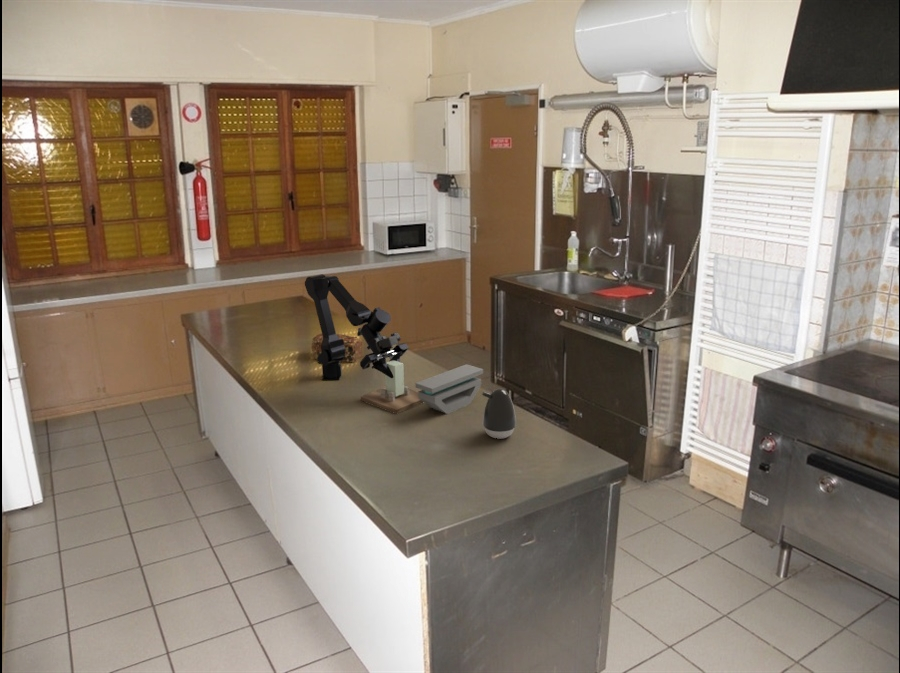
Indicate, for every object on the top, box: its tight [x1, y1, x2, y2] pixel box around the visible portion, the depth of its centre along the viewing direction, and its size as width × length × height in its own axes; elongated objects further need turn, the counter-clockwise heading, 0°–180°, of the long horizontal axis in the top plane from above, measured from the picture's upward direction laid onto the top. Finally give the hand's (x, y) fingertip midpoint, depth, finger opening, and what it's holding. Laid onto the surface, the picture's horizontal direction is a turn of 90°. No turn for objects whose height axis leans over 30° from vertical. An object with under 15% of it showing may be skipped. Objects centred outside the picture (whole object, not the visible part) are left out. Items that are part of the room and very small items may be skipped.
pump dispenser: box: [481, 388, 517, 440], centre depth 212 cm, size 10×10×15 cm
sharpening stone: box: [414, 363, 484, 415], centre depth 235 cm, size 25×8×11 cm, turn 137°
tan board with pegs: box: [360, 385, 424, 415], centre depth 241 cm, size 16×18×4 cm
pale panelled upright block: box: [384, 360, 405, 396], centre depth 239 cm, size 4×6×11 cm
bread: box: [311, 333, 363, 363], centre depth 284 cm, size 19×11×10 cm, turn 75°
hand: (397, 376), depth 238 cm, fingers closed on pale panelled upright block, 4 cm apart
